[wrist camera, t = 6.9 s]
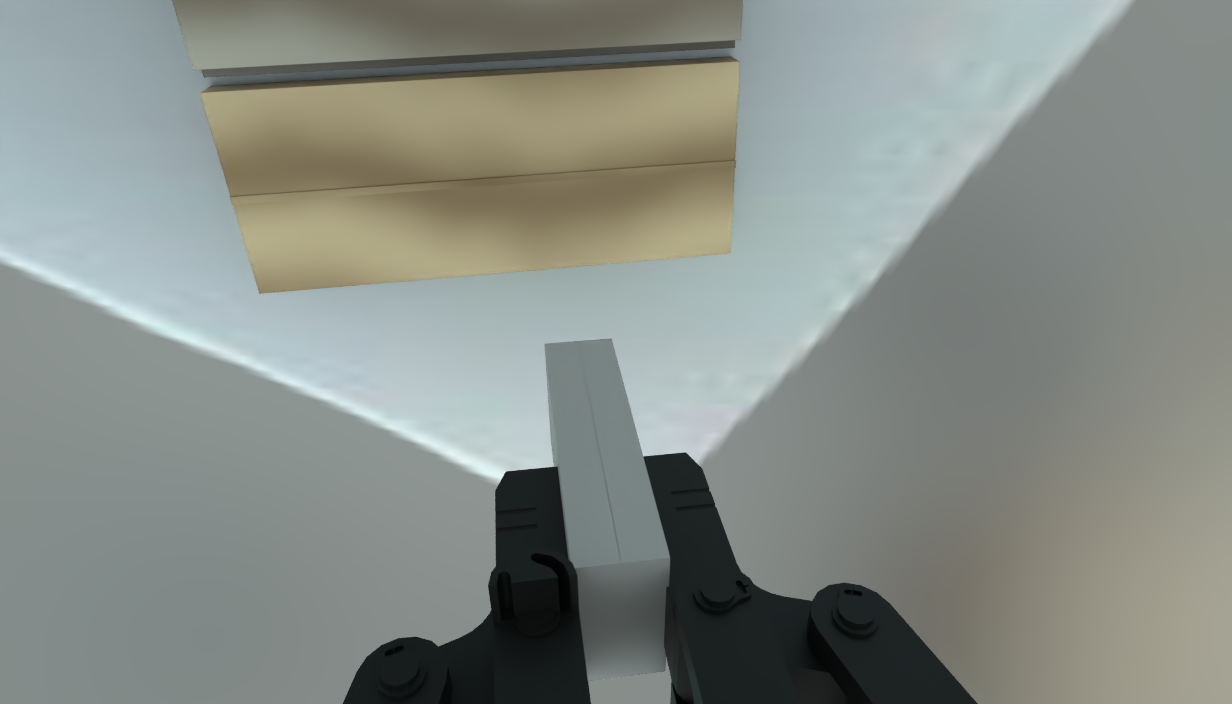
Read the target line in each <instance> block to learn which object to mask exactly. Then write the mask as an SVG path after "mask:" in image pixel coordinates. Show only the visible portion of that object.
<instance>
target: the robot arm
mask: <svg viewBox="0 0 1232 704" xmlns="http://www.w3.org/2000/svg"><path fill="white" fill-rule="evenodd" d="M545 357H546V372H547V387H548V403H549V418H550V433H551V445H552V454H553V463H554V467H548V468H538V469H527V470H517V471H507V472H506V473H505V474H504V476H503V478H502V480H501V482H500V483H499V485H498V487H497V489H496V491H495V498H496V499H495V501H496V502H495V503H496V505H495V506H496V507H495V511H496V567H495V568H494V570H493V571H492V572H491V576H490V581H489V585H488V588H489V595H490V602H491V609H492V610H491V612H490V614H489V615H488V616H487V618H486V619H485V620H484V621H483V623H482V624H480V625H479V626H478V627H477V628H475V629H474V630H473V631H472V632H470V633H468V634H466V635H464V636H462V637H460V638H458V639H456V640H453V641H451V642H449V643H446V644H444V645H441V646H439V647H438V646H437V645H436V644H435V643H433V642H432V641H429V640H426V639H422V638H419V637H408V638H398V639H396V640H393V641H391V642H388V643H386V644H384V645H381V646H380V647H379V648H377V649H376V650H375V651H374V652H372V653H371V654H370V655H369V656H367V657H366V659H365V661H364V662H363V664H362V665H361V666H360V668H359V669H358V671H357V673H356V675H355V677H354V680H353V682H352V684H351V686H350V688H349V691H348V693H347V695H346V698H345V700H344V702H343V704H591V702H590V694H589V686H588V681H594V680H602V679H610V678H617V677H625V676H633V675H640V674H647V673H655V672H663V671H665V668H666V667H665V666H666V657H667V662H668V666H669V670H670V674H671V679H672V682H671V702H670V704H977V703H976V701H975V700H974V699H973V698H972V697H971V696H970V695H969V693H967V691H966V690H965V689H964V688H963V687H962V685H961V684H960V683H959V682H958V681H957V680H956V679H955V677H954V676H953V675H952V674H951V673H950V672H949V671H948V669H947V668H946V667H945V666H944V665H943V664H942V663H941V661H940V660H939V659H938V658H937V657H936V656H935V655H934V654H933V652H932V651H931V650H930V649H929V648H928V647H927V646H926V645H925V643H924V642H923V641H922V640H921V639H920V637H919V636H918V635H917V634H916V633H915V632H914V631H913V629H912V628H911V627H910V626H909V625H908V624H907V623H906V622H905V620H904V619H903V618H902V617H901V616H900V615H899V614H898V612H897V611H896V610H895V609H894V608H893V607H892V606H891V604H890V603H889V602H887V601H886V600H885V599H884V598H882V597H881V596H880V595H879V594H878V593H877V592H874V591H872V590H870V589H868V588H866V587H863V586H861V585H855V584H849V583H840V584H834V585H829V586H827V587H825V588H824V589H822V590H820V591H819V592H817V594H816V596H815V598H814V599H813V601H809V600H802V599H796V598H790V597H783V596H780V595H776V594H772V593H769V592H767V591H765V590H762V589H760V588H759V587H757V586H756V585H754V584H753V582H752V581H751V580H750V578H749V577H747V576H746V575H745V574H743V573H742V572H741V570H740V569H739V567H738V565H737V563H736V560H735V557H734V555H733V552H732V549H731V546H730V544H729V541H728V538H727V535H726V533H725V530H724V527H723V525H722V522H721V519H720V516H719V514H718V511H717V508H716V507H715V503H714V500H713V497H712V494H711V492H710V491H709V486H708V483H707V481H706V478H705V475H704V473H703V470H702V468H701V467H700V466H699V465H698V464H697V463H696V462H695V461H694V460H693V459H692V458H691V457H690V456H689V455H688V454H687V453H675V454H665V455H655V456H644V457H643V454H642V450H641V447H640V443H639V439H638V435H637V432H636V428H635V424H634V421H633V417H632V413H631V409H630V406H629V402H628V398H627V395H626V391H625V387H624V383H623V380H622V376H621V372H620V369H619V365H618V361H617V357H616V354H615V350H614V346H613V343H612V339H600V340H587V341H574V342H562V343H549V344H545Z"/></svg>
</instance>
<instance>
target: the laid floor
mask: <svg viewBox="0 0 1232 704" xmlns="http://www.w3.org/2000/svg"><path fill="white" fill-rule="evenodd" d="M172 1H173V5H174V8H175V11H176V15H177V18H178V21H179V25H180V28H181V31H182V35H183V38H184V41H185V45H186V48H187V51H188V55H189V58H190V61H191V65H192V68H193V70H201V69H202V73H203V76H204V77H221V76H239V75H256V74H274V73H292V72H310V71H328V70H345V69H363V68H381V67H399V66H417V65H434V64H452V63H470V62H488V61H506V60H524V59H541V58H559V57H577V56H595V55H613V54H630V53H648V52H666V51H684V50H702V49H719V48H735V40H741V27H742V7H743V0H172Z"/></svg>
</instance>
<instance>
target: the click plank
mask: <svg viewBox="0 0 1232 704" xmlns="http://www.w3.org/2000/svg"><path fill="white" fill-rule="evenodd" d="M739 67H740V61H738V60H736V59H735V58H733V57H717V58H700V59H683V60H665V61H648V62H630V63H613V64H595V65H578V66H561V67H543V68H526V69H508V70H491V71H473V72H456V73H439V74H421V75H404V76H386V77H369V78H352V79H334V80H317V81H299V82H282V83H264V84H247V85H230V86H212V87H209V88H207V89H206V90H204V91H202V92H201V93H200V95H201V98H202V101H203V105H204V108H205V111H206V115H207V118H208V122H209V125H210V128H211V132H212V135H213V138H214V142H215V145H216V149H217V152H218V155H219V159H220V162H221V166H222V169H223V172H224V176H225V179H226V182H227V186H228V189H229V193H230V199H231V203H232V205H233V206H234V209H235V213H236V216H237V220H238V223H239V226H240V230H241V233H242V236H243V240H244V243H245V247H246V250H247V253H248V257H249V260H250V263H251V267H252V270H253V274H254V277H255V280H256V284H257V287H258V290H259V294H260V293H272V292H284V291H295V290H307V289H319V288H330V287H342V286H354V285H366V284H377V283H389V282H401V281H412V280H424V279H436V278H448V277H459V276H471V275H483V274H494V273H506V272H518V271H530V270H541V269H553V268H565V267H576V266H588V265H600V264H612V263H623V262H635V261H647V260H658V259H670V258H682V257H694V256H705V255H717V254H729V253H731V235H732V214H733V193H734V172H735V165H736V160H735V151H736V130H737V109H738V88H739Z"/></svg>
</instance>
